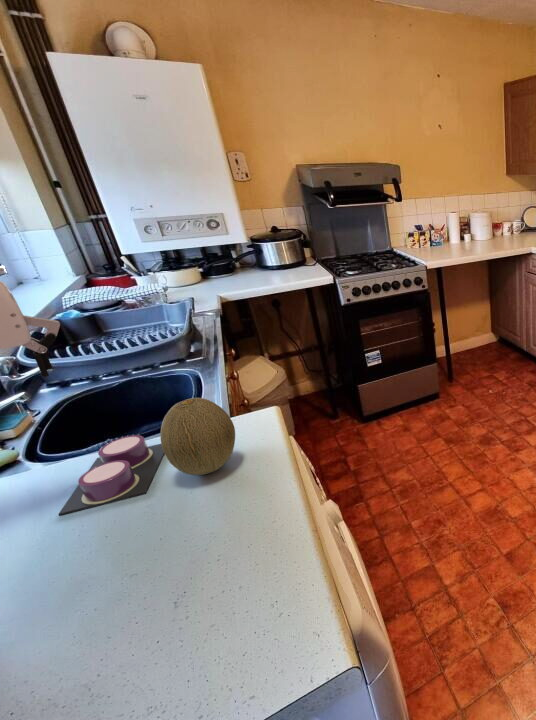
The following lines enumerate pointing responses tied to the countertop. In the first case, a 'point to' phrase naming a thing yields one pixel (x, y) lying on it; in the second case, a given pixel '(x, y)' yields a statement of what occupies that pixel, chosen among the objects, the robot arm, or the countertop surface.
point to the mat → (143, 480)
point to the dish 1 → (125, 450)
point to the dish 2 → (107, 480)
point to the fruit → (197, 436)
